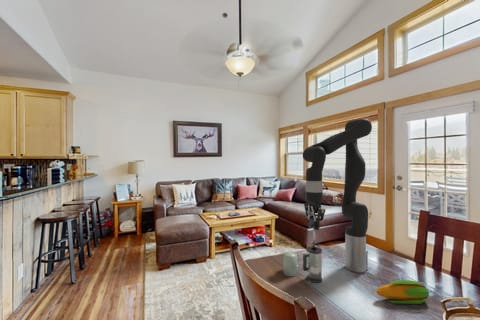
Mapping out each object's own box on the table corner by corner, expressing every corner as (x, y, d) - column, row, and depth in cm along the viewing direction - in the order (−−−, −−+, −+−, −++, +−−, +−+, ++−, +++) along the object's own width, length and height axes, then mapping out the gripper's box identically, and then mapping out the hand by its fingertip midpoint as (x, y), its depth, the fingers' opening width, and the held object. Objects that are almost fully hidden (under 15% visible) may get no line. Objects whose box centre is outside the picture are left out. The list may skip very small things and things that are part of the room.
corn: (435, 285, 83) (382, 286, 82) (436, 307, 82) (383, 307, 82) (419, 276, 90) (370, 277, 90) (420, 296, 90) (371, 296, 89)
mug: (291, 267, 112) (291, 249, 112) (299, 275, 105) (299, 256, 105) (279, 269, 111) (279, 251, 111) (287, 277, 103) (287, 258, 103)
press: (316, 274, 105) (316, 245, 105) (325, 282, 99) (325, 251, 99) (300, 277, 103) (300, 247, 103) (307, 285, 97) (307, 253, 97)
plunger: (315, 246, 103) (315, 217, 103) (320, 249, 100) (319, 219, 100) (308, 247, 103) (308, 217, 102) (312, 250, 99) (312, 219, 99)
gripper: (331, 192, 95) (331, 232, 95) (312, 188, 109) (312, 223, 109) (315, 193, 93) (315, 233, 93) (298, 188, 107) (298, 224, 107)
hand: (314, 227), depth 101 cm, fingers closed on plunger, 3 cm apart
